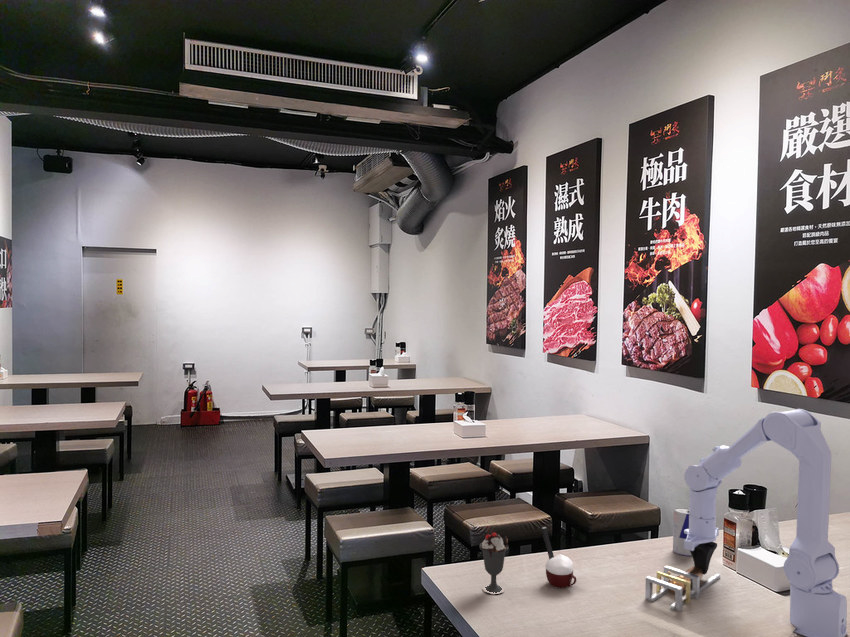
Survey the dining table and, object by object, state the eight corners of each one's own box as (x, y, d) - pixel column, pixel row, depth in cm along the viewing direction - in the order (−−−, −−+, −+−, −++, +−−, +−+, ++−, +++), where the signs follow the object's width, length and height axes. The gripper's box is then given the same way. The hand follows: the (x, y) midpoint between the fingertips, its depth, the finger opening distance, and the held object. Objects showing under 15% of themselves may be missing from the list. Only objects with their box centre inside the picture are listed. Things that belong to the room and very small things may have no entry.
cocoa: (580, 592, 140) (583, 541, 139) (556, 595, 138) (559, 542, 137) (558, 573, 149) (562, 525, 148) (535, 575, 147) (539, 526, 146)
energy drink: (697, 560, 157) (697, 514, 157) (675, 559, 158) (675, 512, 158) (692, 552, 163) (693, 508, 162) (671, 551, 164) (671, 506, 163)
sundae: (474, 592, 138) (475, 526, 138) (485, 581, 144) (486, 518, 144) (501, 599, 135) (502, 532, 135) (512, 587, 141) (513, 522, 141)
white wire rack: (725, 583, 144) (725, 559, 144) (679, 617, 128) (679, 590, 128) (691, 572, 150) (691, 549, 150) (643, 603, 134) (643, 577, 134)
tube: (693, 579, 145) (688, 566, 146) (705, 578, 143) (700, 564, 144) (670, 595, 136) (665, 581, 137) (683, 594, 134) (677, 579, 135)
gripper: (698, 505, 152) (697, 559, 152) (671, 517, 142) (670, 575, 142) (727, 512, 147) (727, 568, 147) (702, 525, 137) (701, 586, 137)
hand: (701, 572), depth 144 cm, fingers closed
